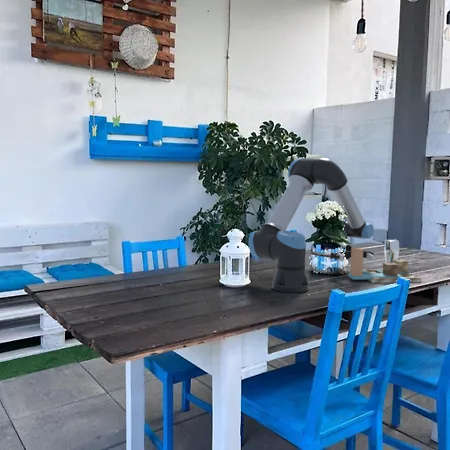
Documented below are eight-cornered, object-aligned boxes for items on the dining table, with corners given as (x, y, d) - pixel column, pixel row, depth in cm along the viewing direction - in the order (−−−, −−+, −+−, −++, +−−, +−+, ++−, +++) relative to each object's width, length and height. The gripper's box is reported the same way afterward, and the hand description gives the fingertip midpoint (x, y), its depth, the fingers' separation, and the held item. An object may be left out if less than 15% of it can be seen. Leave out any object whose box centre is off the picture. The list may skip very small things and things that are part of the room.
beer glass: (399, 272, 228) (400, 241, 226) (384, 271, 229) (385, 241, 228) (397, 269, 235) (398, 239, 233) (382, 268, 236) (383, 239, 235)
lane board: (372, 282, 206) (372, 277, 205) (357, 273, 225) (357, 269, 224) (421, 282, 207) (421, 277, 207) (402, 273, 226) (402, 268, 226)
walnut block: (386, 275, 208) (387, 264, 208) (382, 273, 213) (383, 262, 213) (397, 275, 209) (398, 264, 208) (393, 273, 214) (393, 262, 213)
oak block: (399, 272, 217) (399, 261, 217) (392, 270, 222) (392, 259, 222) (408, 271, 219) (408, 261, 218) (400, 269, 224) (401, 259, 223)
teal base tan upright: (353, 279, 207) (354, 249, 205) (348, 276, 213) (349, 247, 212) (402, 278, 208) (403, 249, 207) (395, 275, 215) (396, 247, 213)
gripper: (368, 258, 232) (384, 266, 211) (318, 258, 231) (329, 266, 209) (368, 243, 231) (385, 249, 210) (318, 243, 230) (330, 250, 209)
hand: (357, 258), depth 210 cm, fingers open, 13 cm apart
